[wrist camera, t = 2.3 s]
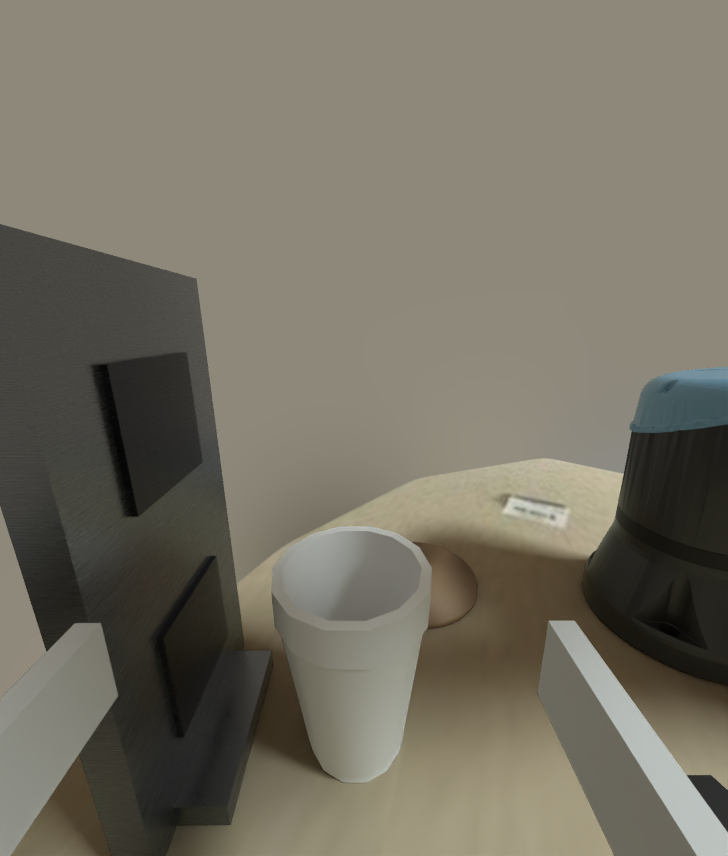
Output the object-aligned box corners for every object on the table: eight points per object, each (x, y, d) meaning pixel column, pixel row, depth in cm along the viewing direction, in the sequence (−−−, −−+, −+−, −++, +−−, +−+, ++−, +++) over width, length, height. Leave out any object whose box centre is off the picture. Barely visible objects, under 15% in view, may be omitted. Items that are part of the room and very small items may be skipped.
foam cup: (415, 841, 20) (422, 649, 16) (261, 791, 22) (237, 613, 18) (429, 680, 29) (435, 534, 25) (318, 656, 31) (309, 519, 27)
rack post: (278, 644, 32) (241, 277, 24) (216, 876, 19) (83, 216, 10) (221, 645, 32) (165, 279, 24) (118, 877, 19) (-91, 219, 10)
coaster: (459, 545, 46) (459, 541, 46) (494, 628, 33) (495, 622, 33) (356, 546, 46) (355, 542, 46) (353, 629, 33) (352, 624, 33)
